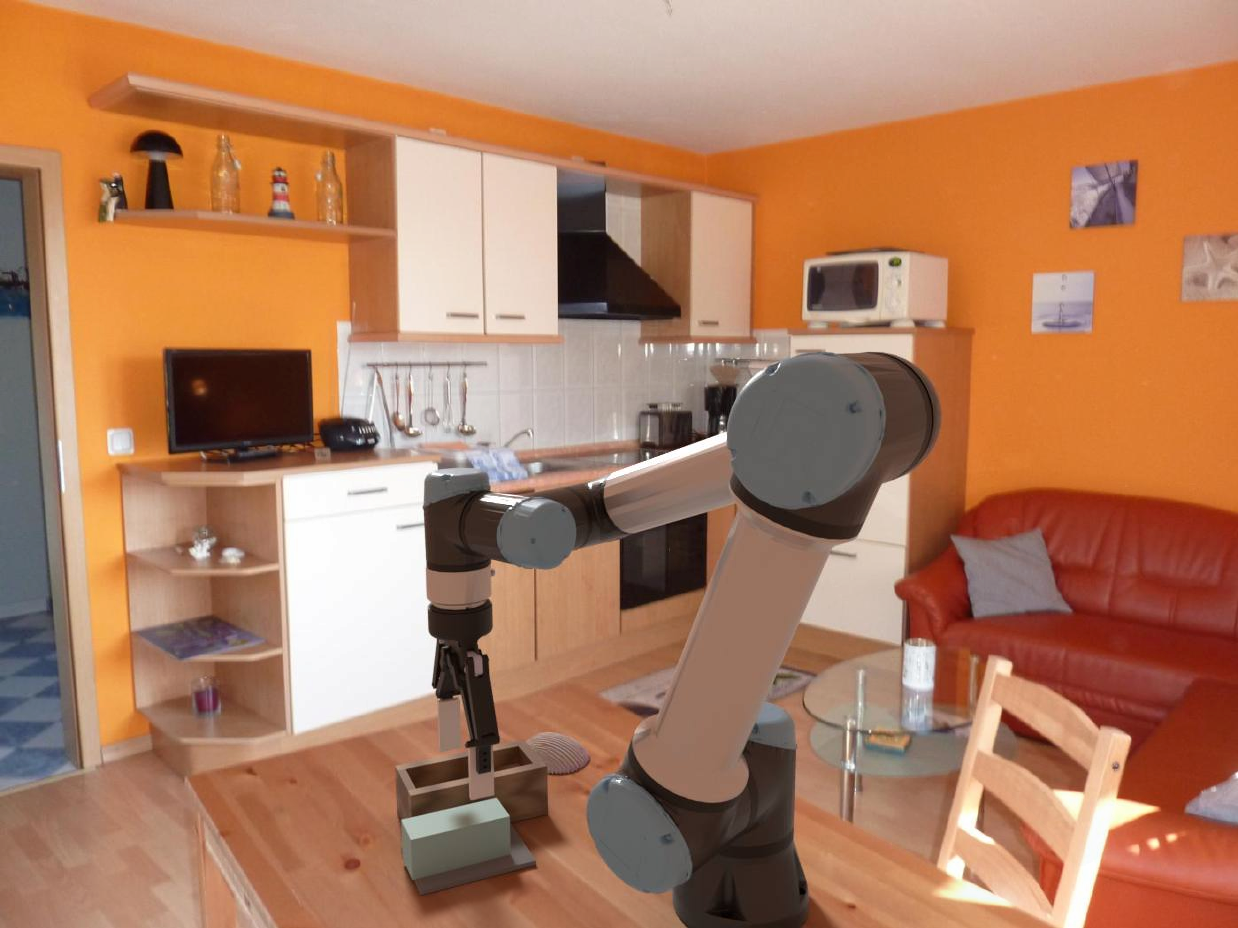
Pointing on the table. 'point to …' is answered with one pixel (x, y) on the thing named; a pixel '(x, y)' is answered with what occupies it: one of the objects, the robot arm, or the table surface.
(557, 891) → the table surface
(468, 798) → the frame
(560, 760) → the seashell
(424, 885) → the mat
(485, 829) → the part
